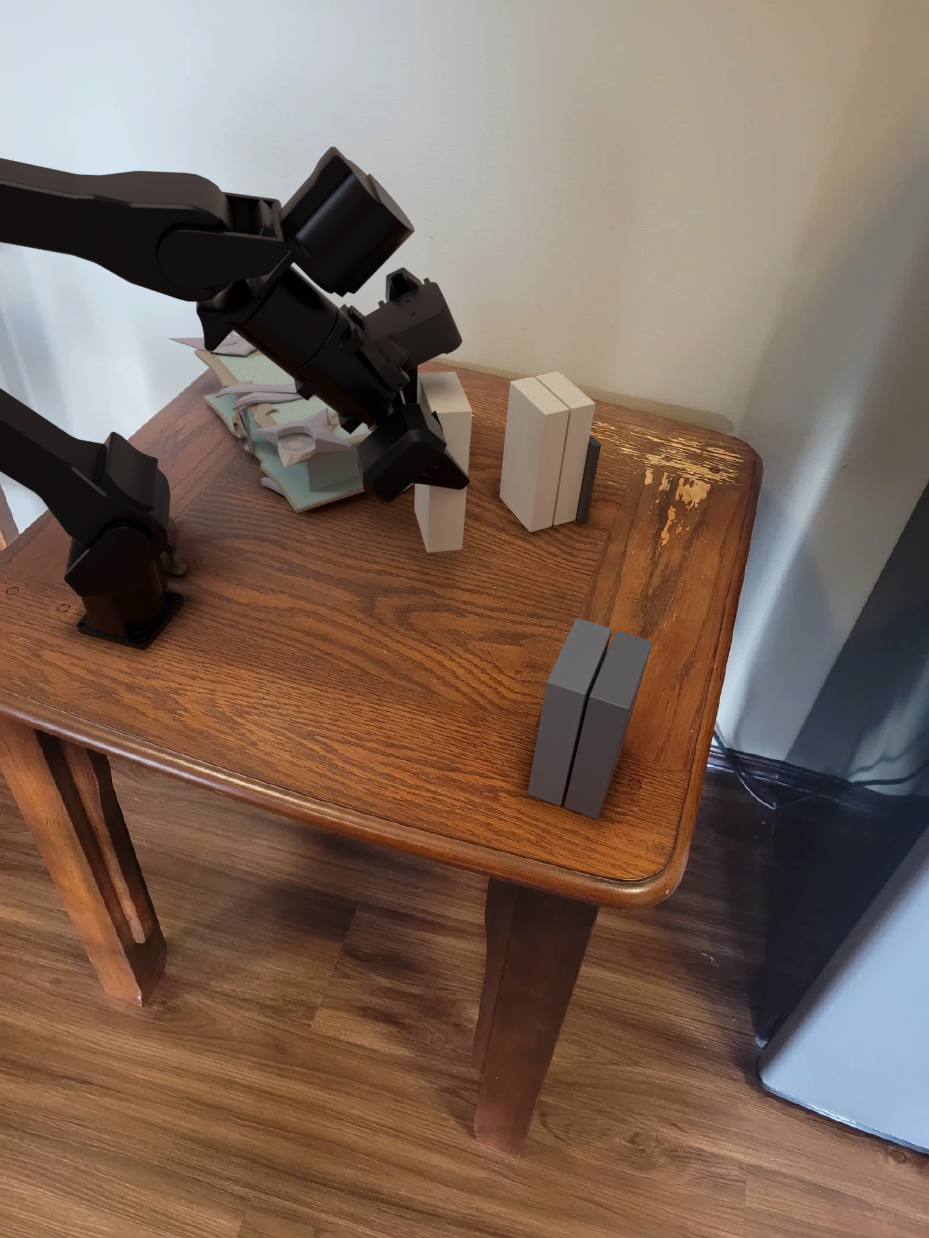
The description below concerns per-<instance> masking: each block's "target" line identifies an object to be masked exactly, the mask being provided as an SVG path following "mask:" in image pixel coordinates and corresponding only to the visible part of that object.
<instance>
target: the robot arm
mask: <svg viewBox="0 0 929 1238" xmlns="http://www.w3.org/2000/svg"><path fill="white" fill-rule="evenodd" d="M415 232H416V229H415V227H414V225H413V224H412V221H411V220H410V219H409V217H408V216H407V214H406V213H405V212H404V211H403V209H402V208H401V206H400V205H399V204H398V203H397V202H396V200H395V199H394V198H393V197H392V196H391V195H390V193H389V192H388V191H387V190H386V188H384V187H383V185H382V184H381V183H380V182H379V181H378V180H377V179H376V178H375V177H374V175H372V174H371V173H368V174H367V173H366V172H365V171H364V170H362V169H361V168H360V167H359V165H357V164H356V163H355V162H353V161H352V160H350V159H348V158H347V157H346V156H345V155H344V154H343V153H342V152H341V151H340V150H339V149H338V148H337V147H336V146H330V147H329V148H328V149H327V150H326V151H325V152H324V153H323V154H322V156H321V157H320V158H319V160H318V161H317V162H316V165H315V167H314V168H313V171H312V172H311V174H310V175H309V176H308V178H307V179H305V181H304V182H303V183H302V184H301V185H300V186H299V188H298V189H296V191H295V192H294V194H292V196H291V197H290V198H289V199H288V200H287V201H286V203H285V204H284V205H283V206H282V203H281V201H280V200H279V199H277V198H271V197H263V196H258V195H257V196H256V195H251V194H243V193H242V194H241V193H237V192H236V193H234V192H228V191H222V190H221V189H220V187H219V185H217V184H216V183H215V182H213V181H212V180H211V179H209V178H207V177H204V176H202V175H199V174H196V173H190V172H181V171H179V172H177V171H156V170H155V171H153V170H152V171H151V170H131V171H123V172H113V173H106V174H85V173H84V174H81V173H74V172H69V171H65V170H60V169H55V168H51V167H45V166H41V165H36V164H31V163H26V162H23V161H18V160H13V159H9V158H8V159H7V158H3V157H0V243H1V244H7V245H13V246H19V247H23V248H30V249H33V250H40V251H46V252H50V253H51V252H52V253H56V254H63V255H68V256H73V257H76V258H78V259H82V260H85V261H88V262H91V263H93V264H96V265H97V266H99V267H101V268H103V269H104V270H106V271H108V272H110V273H112V274H113V275H114V276H115V275H116V277H119V278H120V279H122V280H124V281H126V282H127V283H130V284H132V285H135V286H138V287H141V288H143V289H146V290H149V291H152V292H155V293H159V294H162V295H164V296H167V297H171V298H173V299H176V300H179V301H184V302H189V303H195V312H196V315H197V316H198V318H199V322H200V325H201V328H202V333H203V334H202V335H203V338H204V347H205V349H206V350H207V351H211V352H212V351H214V350H216V348H217V347H218V346H219V345H220V344H221V343H222V342H223V341H224V339H225V338H226V337H229V334H230V333H231V332H232V331H233V333H235V334H236V335H237V336H240V337H242V338H243V339H244V340H246V341H247V342H248V343H249V344H251V345H252V346H253V347H255V348H256V349H257V350H258V351H260V352H261V353H262V354H263V355H265V356H266V357H267V358H268V359H270V360H271V361H272V362H273V363H275V364H276V365H277V366H279V367H280V368H281V369H282V370H284V371H285V372H286V373H287V374H289V375H290V376H291V377H292V378H294V382H295V388H296V393H298V394H299V395H300V396H302V397H303V398H304V399H305V400H307V401H308V400H309V399H310V398H311V397H312V396H313V395H315V396H316V397H318V398H319V399H320V400H321V401H323V402H324V403H325V404H326V405H328V406H329V407H330V408H331V409H333V410H334V411H335V412H337V414H338V419H339V423H340V427H341V428H343V429H344V430H345V431H346V432H348V433H349V434H350V435H351V434H352V433H353V432H354V431H355V430H356V429H357V428H358V427H359V426H360V425H361V424H362V423H364V424H365V425H367V429H369V430H370V431H372V432H371V433H370V434H369V435H368V436H367V437H366V438H365V439H364V440H363V441H362V442H361V443H360V444H359V445H358V446H357V464H358V469H359V473H360V477H361V481H362V486H363V490H365V491H364V492H366V493H367V494H369V495H370V496H371V497H373V498H374V499H375V500H377V501H378V502H380V503H381V504H383V505H384V504H391V503H392V502H393V501H394V500H395V499H396V498H397V497H398V496H399V495H400V494H401V493H403V492H404V491H403V490H405V489H406V488H407V487H408V486H409V485H410V484H411V483H412V484H413V485H415V484H422V485H429V486H436V487H443V488H449V489H456V490H462V489H464V488H465V487H466V486H467V487H468V485H469V484H470V483H471V479H470V477H469V476H467V474H466V473H465V472H464V471H463V469H462V468H461V467H460V465H459V464H458V463H457V462H456V461H455V459H454V458H453V457H452V456H451V454H450V453H449V452H448V451H447V450H446V446H447V443H446V440H445V438H444V435H443V428H442V425H441V423H440V420H439V418H438V415H437V412H436V411H434V412H433V413H432V414H431V413H430V412H429V411H428V410H427V409H425V408H424V407H423V406H422V405H421V404H420V403H417V378H418V372H419V370H418V369H419V366H420V365H422V364H425V363H427V362H428V361H430V360H432V359H434V358H437V357H439V356H441V355H443V354H445V355H448V354H450V353H453V352H455V351H456V350H458V349H459V348H460V347H461V345H462V344H463V338H462V336H461V333H460V330H459V328H458V326H457V324H456V321H455V319H454V317H453V314H452V312H451V310H450V307H449V304H448V303H447V300H446V299H445V296H444V294H443V292H442V290H441V288H440V286H439V284H438V283H437V282H435V281H430V278H429V277H428V276H427V277H425V278H423V280H421V279H420V278H418V277H417V276H415V275H414V274H413V273H412V272H410V271H409V270H408V269H407V268H405V267H404V266H403V267H400V268H397V269H396V270H394V271H392V272H390V273H388V274H387V275H385V294H384V295H385V296H384V297H385V302H384V299H381V300H379V301H378V302H377V304H378V308H377V309H375V310H373V311H371V312H370V313H368V314H366V315H364V314H363V312H360V311H359V310H358V309H357V308H356V307H355V306H354V305H352V304H351V305H350V306H348V305H347V304H346V303H343V304H342V305H341V306H340V308H339V306H338V305H336V304H335V303H334V302H333V301H332V300H331V299H330V298H328V297H327V296H326V295H325V294H324V293H323V292H322V291H321V290H323V291H324V292H325V293H327V294H330V295H333V294H336V295H337V296H339V297H341V298H344V297H345V296H347V293H348V294H351V295H355V294H356V293H358V291H360V290H361V289H362V287H363V286H364V285H365V284H366V283H367V282H368V281H369V280H370V279H371V278H372V277H373V276H374V275H375V274H376V273H377V272H378V271H379V269H380V268H381V267H383V265H384V264H386V262H387V261H388V260H389V259H390V258H391V257H392V256H393V255H394V254H395V253H396V252H397V250H399V249H400V248H401V247H402V245H403V244H404V243H405V242H406V241H407V240H408V239H409V238H410V237H411V236H412V235H413V234H414V233H415ZM293 264H295V265H296V266H297V267H298V268H299V269H300V270H301V271H302V272H303V273H304V274H305V275H306V276H307V277H308V278H309V279H310V280H311V281H312V282H313V283H314V284H315V285H316V286H317V287H316V286H315V285H314V284H313V283H312V282H311V281H310V280H308V279H307V278H306V277H305V276H304V275H303V274H302V273H301V272H300V271H298V269H296V268H295V267H294V266H293ZM422 281H423V282H422ZM318 287H319V288H320V289H321V290H319V288H318ZM376 427H377V428H376ZM375 428H376V429H375ZM0 473H1V474H3V475H5V476H7V477H8V478H10V479H12V480H13V481H15V482H16V483H17V484H20V485H21V486H23V487H24V488H26V489H28V490H29V491H31V492H32V493H34V494H35V495H37V496H38V497H39V498H40V500H42V502H43V503H44V504H45V506H46V507H47V509H48V510H49V512H51V514H52V515H53V517H54V519H55V520H56V521H57V522H58V524H59V525H60V527H61V528H62V529H63V531H64V532H65V533H66V534H67V536H69V537H70V538H71V540H70V545H69V549H68V550H69V551H68V555H67V561H66V567H65V572H64V577H63V580H64V582H65V583H66V584H67V585H68V586H69V587H70V588H71V589H72V590H73V591H74V593H75V594H76V595H77V596H78V597H80V598H81V601H82V603H83V606H84V609H85V612H86V613H85V614H84V615H83V616H82V617H81V618H80V619H79V621H78V622H77V623H76V629H77V631H78V632H79V633H83V634H87V635H90V636H93V637H96V638H100V639H104V640H108V641H111V642H115V643H118V644H122V645H126V646H129V647H133V648H136V649H141V650H142V649H146V648H147V647H149V645H150V644H151V643H152V642H153V641H154V640H155V638H156V637H157V636H158V635H159V633H160V632H161V631H162V630H163V629H164V628H165V626H166V625H167V624H168V623H169V622H170V620H171V619H172V618H173V617H174V616H175V614H176V613H177V612H178V611H179V609H180V608H181V607H182V606H183V605H184V603H185V602H186V601H185V596H184V595H183V594H181V593H177V592H173V591H169V590H168V588H169V584H168V580H167V577H166V573H165V569H164V565H163V561H162V557H161V555H162V554H163V553H164V552H165V549H166V546H167V542H168V531H169V516H170V512H171V511H170V510H171V488H170V484H169V479H168V478H167V476H166V475H165V473H164V472H163V471H162V470H161V469H160V468H159V459H158V458H157V457H155V456H152V455H149V454H146V453H144V452H142V451H140V450H138V449H137V448H136V447H134V445H132V443H130V442H129V441H128V440H127V439H126V438H125V437H124V436H123V435H121V434H120V433H118V432H116V431H111V432H110V433H109V435H108V436H107V437H106V439H105V440H104V442H103V443H102V442H97V441H91V440H85V439H80V438H77V437H75V436H73V435H71V434H69V432H67V431H64V429H62V428H61V427H59V426H58V425H56V424H54V423H53V422H51V421H50V420H48V419H47V418H46V417H44V416H43V415H41V414H40V413H38V412H37V411H35V410H34V409H32V408H31V407H29V406H28V405H26V404H25V403H23V402H22V401H21V400H19V399H18V398H16V397H14V396H13V395H11V394H10V393H9V392H7V391H6V390H4V389H3V388H1V387H0ZM406 490H407V489H406ZM406 490H405V491H406ZM402 491H403V492H402Z"/></svg>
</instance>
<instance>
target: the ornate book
mask: <svg viewBox="0 0 929 1238" xmlns="http://www.w3.org/2000/svg"><path fill="white" fill-rule="evenodd" d="M167 340H170V341H172V342H173V341H174V342H176V343H179V344H181V345H185V346H188V347H191V348H194V349H195V350H193V353H194V355H195V356H196V357H197V358H198V359H199V360H200V361H201V362H202V363H204V365H206V366H207V367H208V368H209V369H210V370H211V371H212V372H213V373H214V375H215V377H216V378H218V380H219V382H220V383H221V385H222V386H221V387H220V388H219V390H218V391H216V392H212V393H208V394H203V395H202V400H203V401H204V402H205V403H206V404H207V405H208V406H209V407H210V408H211V409H212V410H213V411H214V412H215V413H216V414H218V416H219V417H220V418H221V419H222V422H224V424H225V425H226V427H227V429H228V430H229V432H230V433H231V435H232V436H236V437H237V439H238V441H239V444H240V445H241V447H242V448H243V449H245V451H246V453H249V454H252V455H253V454H254V455H255V457H256V458H257V459H258V460H259V462H260V465H259V468H260V470H261V472H262V473H264V474H265V475H266V476H267V477H265V476H264V477H262V478H260V482H261V483H260V484H261V485H262V486H264V487H265V488H269V489H271V490H273V491H275V492H276V493H278V494H280V495H282V496H283V497H285V499H286V500H287V501H288V503H289V504H290V506H291V508H292V510H294V512H295V513H296V514H299V513H301V512H304V511H308V510H312V509H314V508H317V507H321V506H323V505H326V504H329V503H333V502H335V501H339V500H341V499H345V498H348V497H351V496H354V495H358V494H360V493H364V492H366V491H365V490H363V486H362V481H361V477H360V473H359V469H358V464H357V446H358V445H359V444H360V443H361V442H362V441H363V440H364V439H365V438H366V437H367V436H368V435H369V434H370V433H371V432H372V431H370V430H369V429H367V425H365V424H364V423H362V424H361V425H360V426H359V427H358V428H357V429H356V430H355V431H354V432H353V433H352V434H351V435H350V434H349V433H348V432H346V431H345V430H344V429H343V428H341V427H340V423H339V419H338V414H337V412H335V411H334V410H333V409H331V408H330V407H329V406H328V405H326V404H325V403H324V402H323V401H321V400H320V399H319V398H318V397H316V396H315V395H313V396H312V397H311V398H310V399H309V400H308V401H307V400H305V399H304V398H303V397H302V396H300V395H299V394H298V393H296V388H295V382H294V378H292V377H291V376H290V375H289V374H287V373H286V372H285V371H284V370H282V369H281V368H280V367H279V366H277V365H276V364H275V363H273V362H272V361H271V360H270V359H268V358H267V357H266V356H265V355H263V354H262V353H261V352H260V351H258V350H257V349H256V348H255V347H253V346H252V345H251V344H249V343H248V342H247V341H246V340H244V339H243V338H242V337H241V336H239V335H238V334H236V333H235V332H234V331H232V332H231V333H230V334H229V335H228V336H227V337H226V338H225V339H224V341H223V342H222V343H221V344H220V345H219V346H218V347H217V348H216V350H214V351H212V352H211V351H207V350H206V349H205V347H204V337H167ZM376 428H377V427H376ZM376 428H375V429H376ZM473 433H474V432H473V429H471V437H470V441H471V440H472V437H473ZM412 486H414V484H412V483H411V484H410V485H409V486H408V487H407V488H406V489H405V490H403V491H402V492H401V493H403V492H405V491H406V490H407V489H409V488H410V487H412Z"/></svg>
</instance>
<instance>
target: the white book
mask: <svg viewBox="0 0 929 1238" xmlns="http://www.w3.org/2000/svg"><path fill="white" fill-rule="evenodd" d="M417 403H420V404H421V405H422V406H423V407H424V408H425V409H427V410H428V411H429V412H430V413H431V414H432V413H433V412H434V411H436V412H437V415H438V418H439V420H440V423H441V425H442V428H443V435H444V438H445V440H446V443H447V446H446V450H447V451H448V452H449V453H450V454H451V456H452V457H453V458H454V459H455V461H456V462H457V463H458V464H459V465H460V467H461V468H462V469H463V471H464V472H465V473H466V474H467V476H468V475H469V465H470V463H469V462H470V449H471V440H470V437H471V430H472V423H473V422H472V421H473V409H472V407H471V404H470V402H469V400H468V397H467V395H466V393H465V390H464V388H463V386H462V383H461V382H460V379H459V376H458V374H457V372H456V371H439V372H438V371H437V372H419V373H418V378H417ZM471 438H472V437H471ZM468 477H469V476H468ZM467 490H468V485H467V486H466V487H465V488H464V489H462V490H456V489H449V488H443V487H436V486H429V485H422V484H414V510H413V511H414V513H415V517H416V520H417V523H418V526H419V530H420V534H421V537H422V541H423V543H424V547H425V550H426V553H427V554H428V553H437V552H439V553H440V552H450V551H460V550H463V546H464V545H463V544H464V533H465V532H464V531H465V520H466V519H465V517H466V503H467V493H468V492H467Z"/></svg>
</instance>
